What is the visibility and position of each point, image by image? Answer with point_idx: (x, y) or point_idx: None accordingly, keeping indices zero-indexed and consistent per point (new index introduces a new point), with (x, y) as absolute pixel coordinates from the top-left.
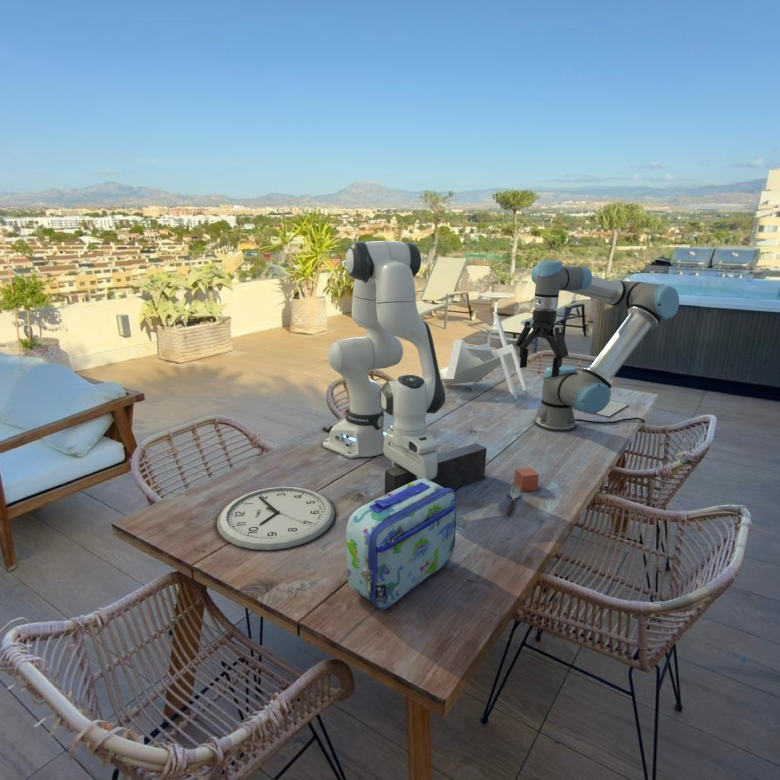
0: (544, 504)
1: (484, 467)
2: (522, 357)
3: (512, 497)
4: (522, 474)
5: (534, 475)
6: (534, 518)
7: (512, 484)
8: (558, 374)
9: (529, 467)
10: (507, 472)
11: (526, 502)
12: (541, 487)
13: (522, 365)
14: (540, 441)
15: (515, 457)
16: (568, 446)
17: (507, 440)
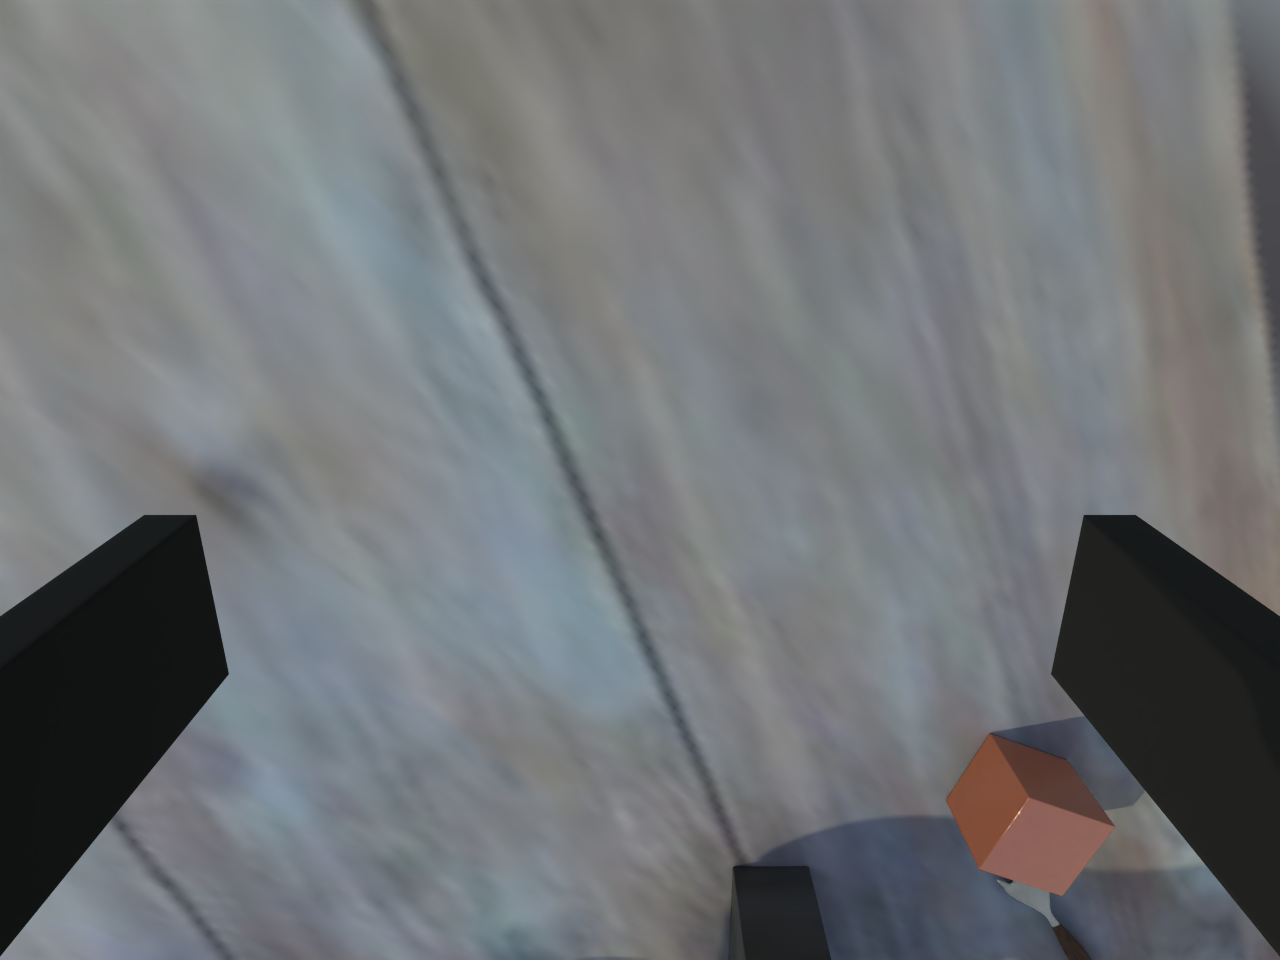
0: (1167, 828)
1: (820, 923)
2: (73, 861)
3: (1040, 911)
4: (1049, 887)
5: (1098, 843)
6: (1192, 932)
7: (998, 881)
8: (1156, 533)
9: (1027, 806)
10: (839, 740)
11: (1095, 872)
12: (1068, 724)
13: (195, 681)
14: (640, 189)
15: (731, 567)
16: (845, 65)
17: (489, 402)
